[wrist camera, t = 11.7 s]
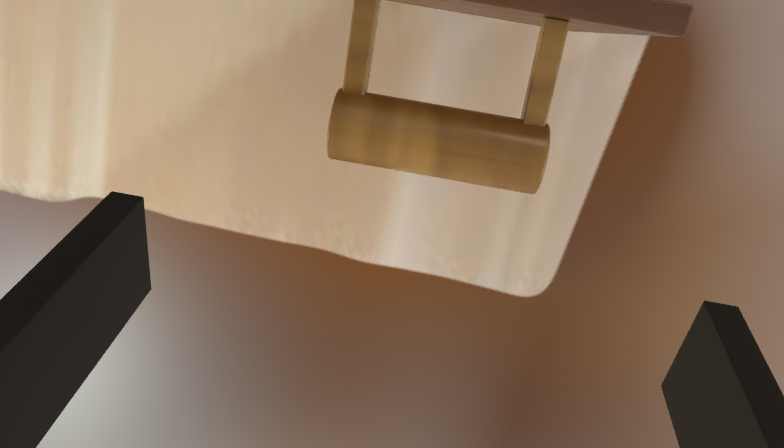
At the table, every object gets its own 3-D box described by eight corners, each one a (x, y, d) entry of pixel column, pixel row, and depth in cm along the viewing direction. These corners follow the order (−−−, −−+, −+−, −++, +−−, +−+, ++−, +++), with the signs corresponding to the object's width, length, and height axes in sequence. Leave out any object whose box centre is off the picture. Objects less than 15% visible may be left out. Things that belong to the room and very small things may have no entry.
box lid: (249, -68, 17) (230, 155, 19) (695, 5, 16) (631, 227, 18) (347, -24, 33) (331, 96, 34) (577, 14, 32) (549, 134, 34)
